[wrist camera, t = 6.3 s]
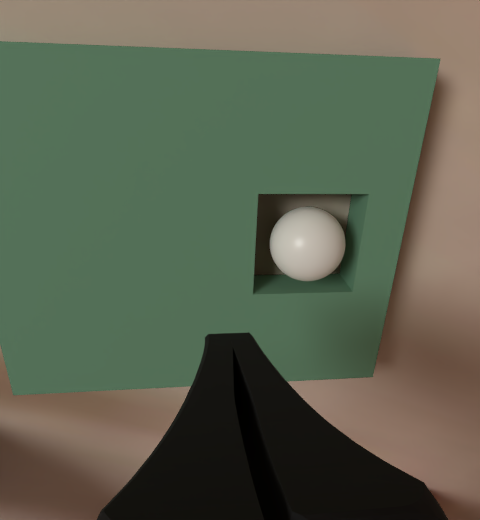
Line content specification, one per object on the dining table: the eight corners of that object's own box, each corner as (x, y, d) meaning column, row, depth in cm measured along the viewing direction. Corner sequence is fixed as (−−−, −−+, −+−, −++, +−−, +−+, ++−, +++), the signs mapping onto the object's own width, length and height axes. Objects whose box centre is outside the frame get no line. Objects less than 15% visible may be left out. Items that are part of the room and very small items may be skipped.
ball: (339, 264, 22) (272, 255, 22) (350, 200, 20) (278, 192, 21) (338, 300, 19) (261, 289, 19) (352, 229, 17) (267, 218, 18)
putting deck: (27, 369, 23) (13, 395, 21) (-49, 40, 16) (-79, 38, 14) (359, 354, 25) (372, 376, 23) (415, 59, 18) (440, 58, 17)
